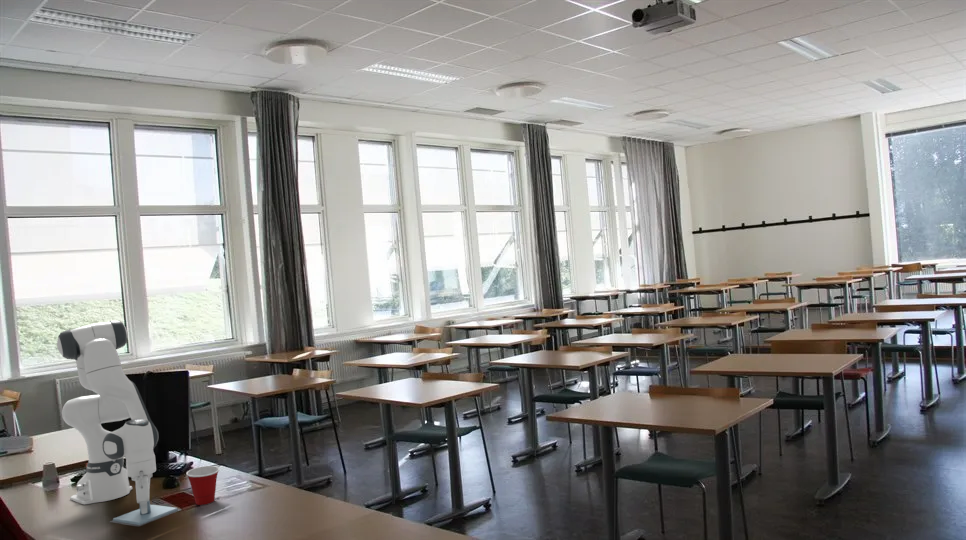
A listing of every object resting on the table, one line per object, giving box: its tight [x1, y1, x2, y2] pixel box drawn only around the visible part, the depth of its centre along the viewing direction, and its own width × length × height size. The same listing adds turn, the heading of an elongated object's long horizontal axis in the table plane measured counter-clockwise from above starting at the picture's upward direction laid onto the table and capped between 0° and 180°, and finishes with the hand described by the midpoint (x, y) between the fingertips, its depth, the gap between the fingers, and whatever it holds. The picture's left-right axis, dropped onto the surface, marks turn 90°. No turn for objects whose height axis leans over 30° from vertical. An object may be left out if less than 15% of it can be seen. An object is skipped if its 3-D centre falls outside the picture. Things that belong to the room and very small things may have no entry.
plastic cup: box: [186, 465, 220, 506], centre depth 240 cm, size 11×11×12 cm
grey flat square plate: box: [108, 508, 182, 528], centre depth 230 cm, size 16×16×1 cm
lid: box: [112, 499, 179, 526], centre depth 231 cm, size 14×14×5 cm
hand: (144, 509), depth 230 cm, fingers open, 8 cm apart
